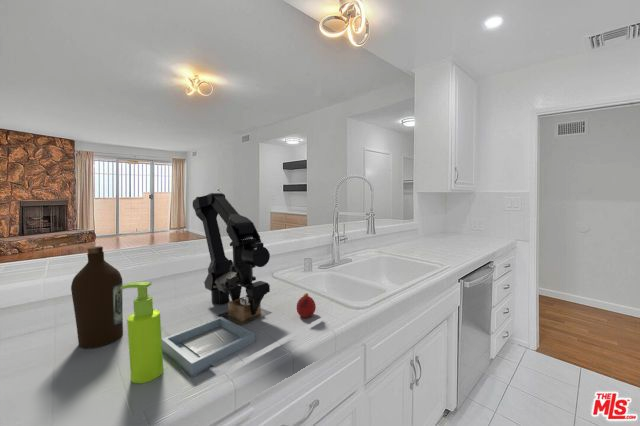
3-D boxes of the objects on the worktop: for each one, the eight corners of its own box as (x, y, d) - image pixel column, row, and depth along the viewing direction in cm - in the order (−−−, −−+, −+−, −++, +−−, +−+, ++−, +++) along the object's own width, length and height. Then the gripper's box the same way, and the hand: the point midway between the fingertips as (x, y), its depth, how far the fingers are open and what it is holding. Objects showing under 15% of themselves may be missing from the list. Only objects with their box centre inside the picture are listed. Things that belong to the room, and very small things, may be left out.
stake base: (216, 318, 86) (216, 299, 86) (249, 306, 96) (248, 289, 95) (239, 330, 79) (238, 309, 78) (272, 315, 88) (271, 297, 87)
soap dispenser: (135, 367, 62) (130, 279, 61) (168, 365, 63) (163, 278, 62) (119, 385, 57) (112, 288, 55) (155, 382, 57) (149, 286, 56)
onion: (313, 323, 82) (312, 297, 81) (294, 322, 83) (293, 296, 82) (317, 315, 87) (317, 290, 87) (299, 314, 89) (299, 289, 88)
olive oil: (69, 354, 68) (60, 253, 66) (83, 335, 77) (76, 246, 76) (121, 343, 73) (115, 248, 71) (128, 326, 82) (123, 242, 80)
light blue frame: (162, 350, 69) (161, 339, 69) (221, 326, 81) (221, 316, 81) (192, 377, 58) (191, 363, 58) (255, 345, 71) (254, 333, 70)
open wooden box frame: (228, 314, 87) (228, 302, 86) (247, 307, 92) (247, 295, 92) (241, 321, 82) (241, 307, 82) (260, 313, 87) (260, 300, 87)
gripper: (202, 262, 86) (204, 311, 87) (237, 272, 74) (239, 329, 75) (234, 255, 94) (236, 300, 95) (270, 264, 82) (271, 315, 83)
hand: (244, 310), depth 87 cm, fingers open, 9 cm apart
